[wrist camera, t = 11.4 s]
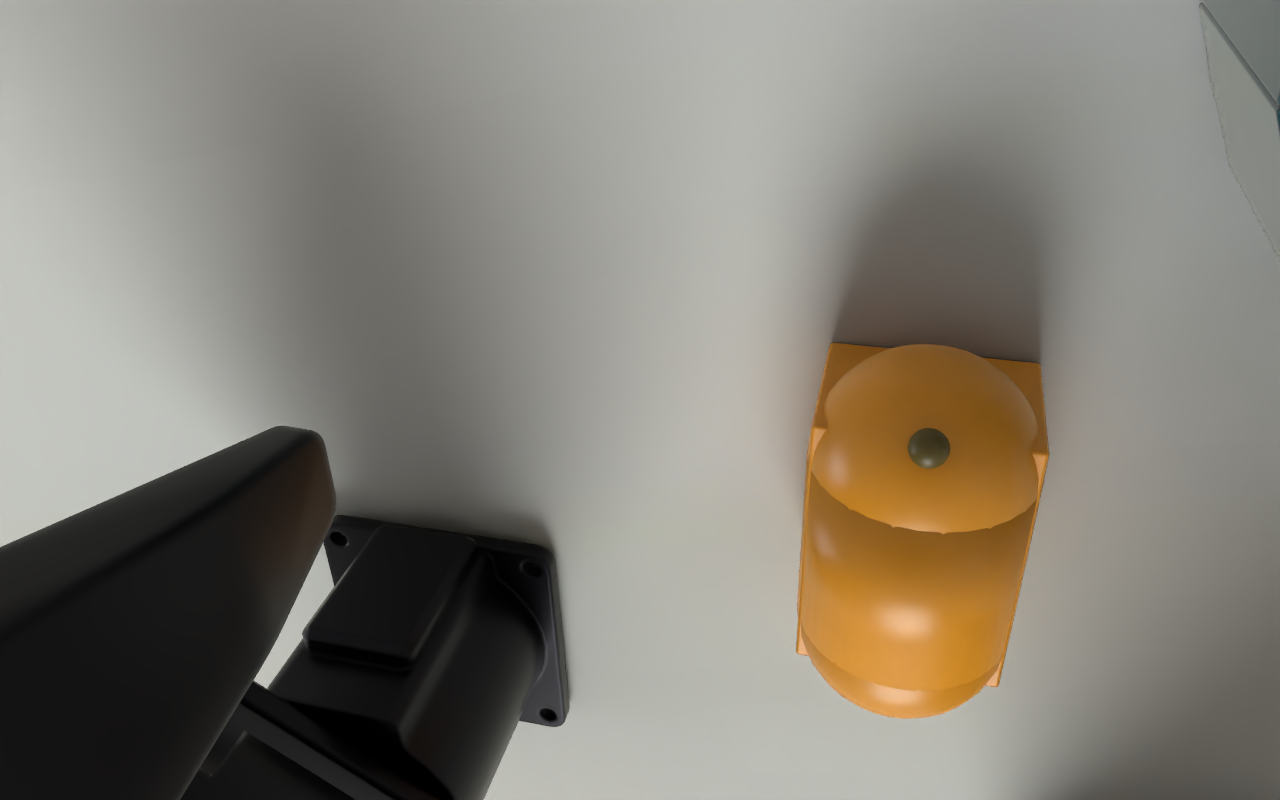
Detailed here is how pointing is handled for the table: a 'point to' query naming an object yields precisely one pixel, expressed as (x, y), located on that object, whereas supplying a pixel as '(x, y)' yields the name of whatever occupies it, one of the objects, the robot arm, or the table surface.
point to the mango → (917, 522)
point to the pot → (1248, 98)
